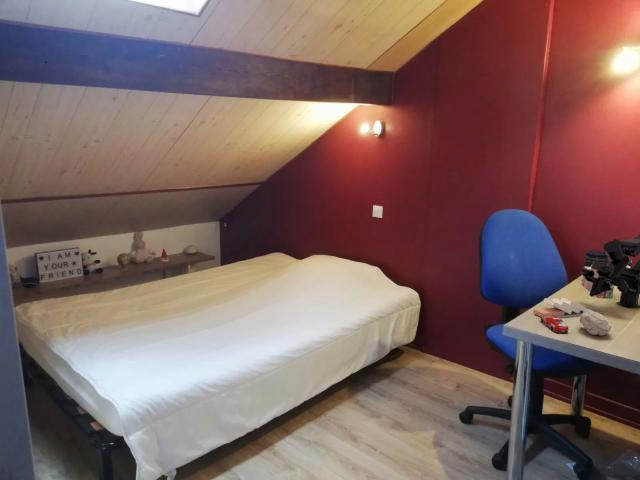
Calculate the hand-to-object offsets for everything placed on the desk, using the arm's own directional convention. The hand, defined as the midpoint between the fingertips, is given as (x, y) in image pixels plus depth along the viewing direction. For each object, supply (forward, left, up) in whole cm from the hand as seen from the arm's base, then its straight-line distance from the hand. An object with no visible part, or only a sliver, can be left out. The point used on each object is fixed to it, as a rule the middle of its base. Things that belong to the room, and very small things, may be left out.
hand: (590, 295), depth 189 cm
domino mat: (+8, 0, -6) cm, 10 cm away
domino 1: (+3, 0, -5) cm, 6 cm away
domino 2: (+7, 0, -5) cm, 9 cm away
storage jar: (-39, -35, -7) cm, 53 cm away
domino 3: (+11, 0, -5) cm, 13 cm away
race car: (+28, +11, -7) cm, 30 cm away
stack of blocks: (-27, -22, -7) cm, 35 cm away
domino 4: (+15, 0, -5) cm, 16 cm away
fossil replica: (+18, +19, -7) cm, 27 cm away
